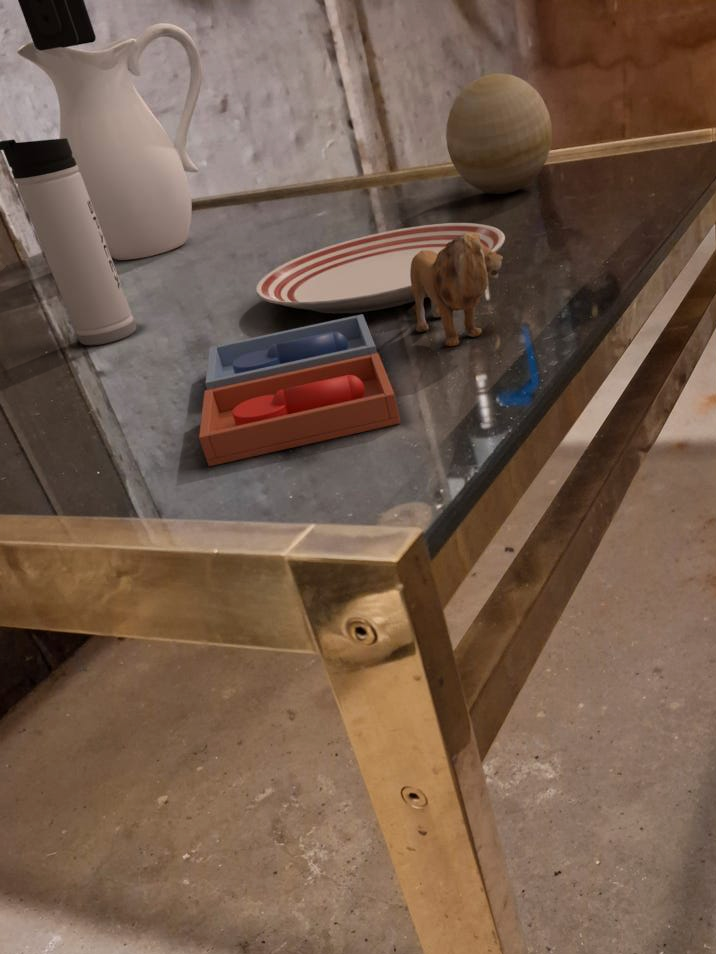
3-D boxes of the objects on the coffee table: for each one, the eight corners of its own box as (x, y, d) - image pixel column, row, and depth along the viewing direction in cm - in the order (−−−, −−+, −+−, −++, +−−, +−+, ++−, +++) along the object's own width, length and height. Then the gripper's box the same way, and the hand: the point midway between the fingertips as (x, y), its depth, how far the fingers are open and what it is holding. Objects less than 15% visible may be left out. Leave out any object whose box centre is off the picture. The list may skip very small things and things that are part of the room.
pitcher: (99, 273, 132) (13, 44, 116) (90, 254, 145) (12, 47, 129) (259, 234, 138) (199, 11, 122) (236, 219, 151) (180, 17, 135)
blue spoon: (348, 347, 84) (342, 322, 83) (352, 361, 80) (346, 336, 79) (236, 371, 83) (229, 347, 82) (236, 386, 79) (228, 362, 78)
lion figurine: (520, 336, 80) (506, 227, 75) (470, 355, 78) (453, 244, 73) (431, 311, 91) (413, 214, 86) (385, 327, 89) (364, 228, 84)
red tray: (208, 466, 67) (198, 437, 66) (213, 417, 76) (204, 390, 74) (400, 423, 68) (394, 393, 67) (383, 379, 77) (378, 352, 75)
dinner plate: (257, 349, 89) (247, 314, 87) (266, 281, 112) (258, 253, 110) (531, 294, 91) (527, 258, 89) (486, 238, 113) (482, 209, 111)
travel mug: (66, 345, 101) (-17, 143, 90) (115, 325, 106) (40, 129, 94) (100, 349, 98) (17, 140, 87) (148, 328, 102) (76, 125, 91)
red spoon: (364, 390, 74) (358, 364, 73) (370, 409, 70) (363, 381, 69) (237, 418, 73) (229, 392, 72) (236, 439, 69) (228, 411, 68)
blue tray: (213, 409, 77) (205, 382, 76) (217, 371, 86) (209, 346, 84) (381, 372, 78) (375, 345, 77) (368, 338, 87) (362, 313, 85)
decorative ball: (564, 176, 139) (554, 59, 130) (547, 198, 127) (535, 72, 118) (468, 187, 143) (452, 75, 134) (444, 210, 131) (425, 89, 122)
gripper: (-5, -287, 57) (101, 39, 67) (45, -226, 71) (127, 36, 81) (-129, -268, 56) (-3, 58, 66) (-54, -210, 70) (41, 52, 80)
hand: (68, 45), depth 74 cm, fingers open, 9 cm apart
